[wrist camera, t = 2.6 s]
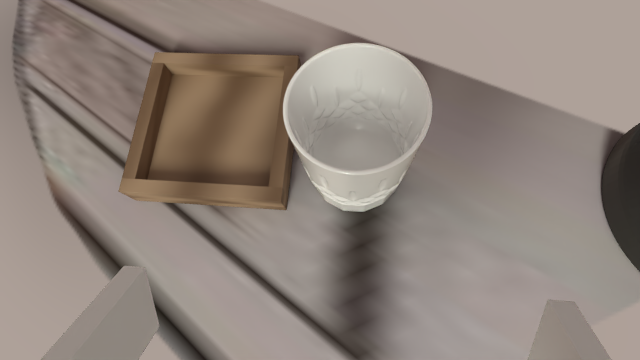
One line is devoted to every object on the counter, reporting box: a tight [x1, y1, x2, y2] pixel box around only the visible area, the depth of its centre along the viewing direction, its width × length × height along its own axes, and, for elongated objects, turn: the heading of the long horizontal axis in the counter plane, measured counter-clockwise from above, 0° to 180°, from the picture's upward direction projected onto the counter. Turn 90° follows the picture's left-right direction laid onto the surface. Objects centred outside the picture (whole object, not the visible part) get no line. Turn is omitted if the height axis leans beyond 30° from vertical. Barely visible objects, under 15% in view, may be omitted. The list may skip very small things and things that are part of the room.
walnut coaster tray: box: [119, 52, 301, 210], centre depth 31 cm, size 12×12×2 cm
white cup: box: [283, 43, 432, 212], centre depth 25 cm, size 8×8×10 cm
